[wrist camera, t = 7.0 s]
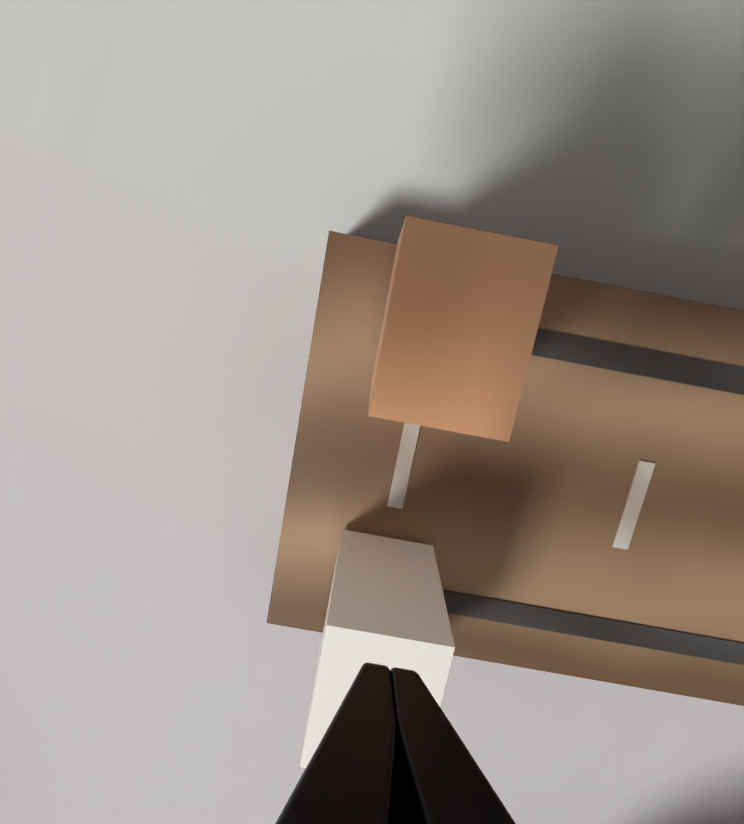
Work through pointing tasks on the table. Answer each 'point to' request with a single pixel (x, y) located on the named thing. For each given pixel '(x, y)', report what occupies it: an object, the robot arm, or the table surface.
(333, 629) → the block
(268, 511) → the table surface
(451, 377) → the terracotta fader
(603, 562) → the board
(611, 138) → the table surface
